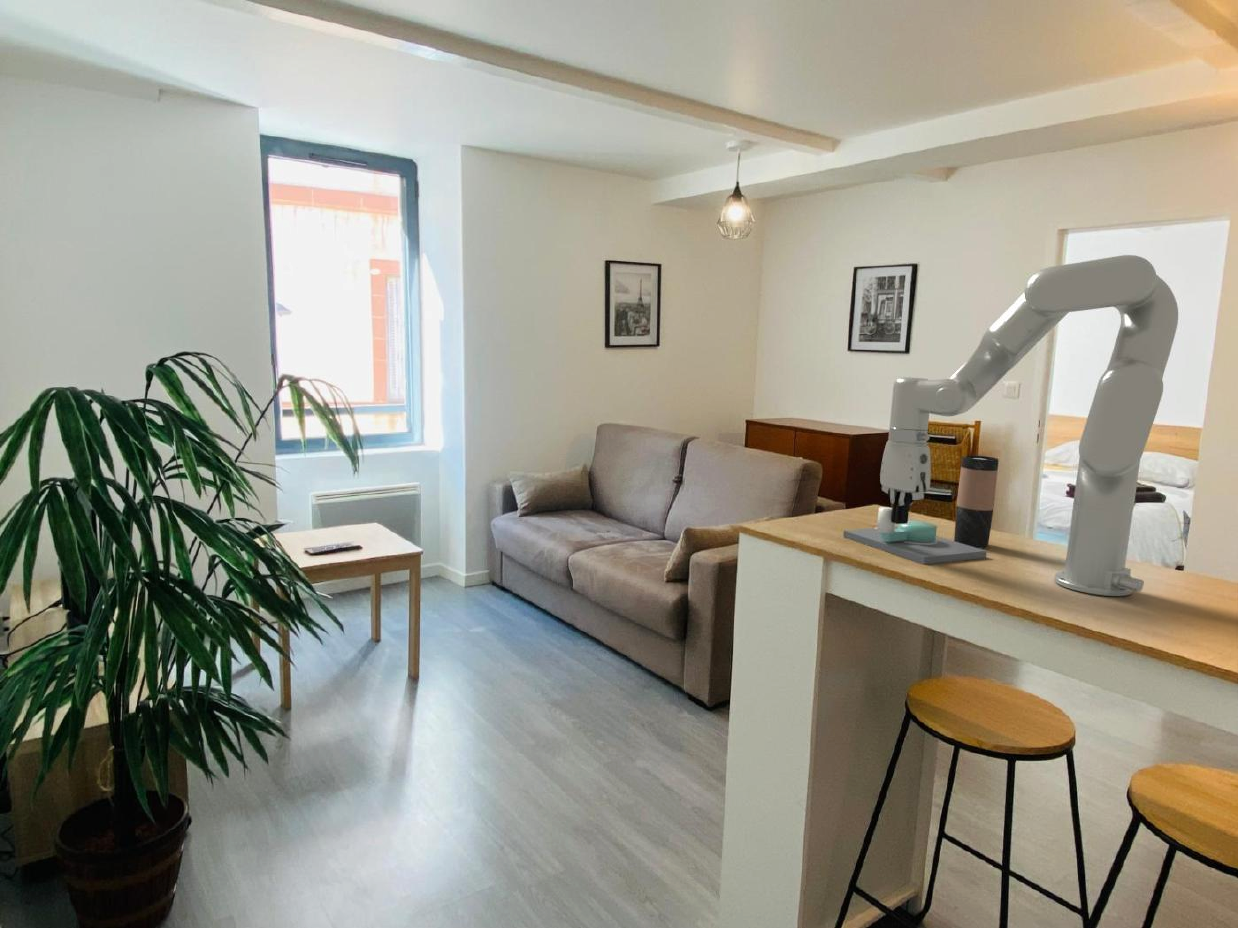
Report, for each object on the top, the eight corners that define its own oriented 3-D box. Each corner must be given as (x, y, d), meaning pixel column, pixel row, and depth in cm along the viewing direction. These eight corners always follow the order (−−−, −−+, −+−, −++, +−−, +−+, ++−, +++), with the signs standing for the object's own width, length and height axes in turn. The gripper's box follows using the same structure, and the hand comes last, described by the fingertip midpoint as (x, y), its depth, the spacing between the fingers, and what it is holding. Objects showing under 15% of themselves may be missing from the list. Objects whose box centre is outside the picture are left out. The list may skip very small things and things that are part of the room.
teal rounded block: (916, 532, 178) (919, 502, 177) (943, 540, 171) (946, 509, 170) (865, 536, 172) (868, 505, 171) (891, 545, 165) (894, 512, 164)
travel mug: (995, 549, 174) (1005, 460, 171) (960, 547, 174) (970, 459, 171) (980, 540, 181) (989, 456, 179) (947, 539, 182) (956, 454, 179)
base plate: (986, 557, 166) (986, 549, 166) (923, 564, 158) (924, 556, 158) (901, 532, 187) (902, 525, 187) (843, 536, 180) (843, 529, 179)
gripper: (949, 441, 157) (940, 529, 160) (894, 432, 171) (886, 514, 173) (921, 441, 154) (912, 532, 157) (868, 433, 168) (860, 516, 170)
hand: (899, 522), depth 165 cm, fingers closed
